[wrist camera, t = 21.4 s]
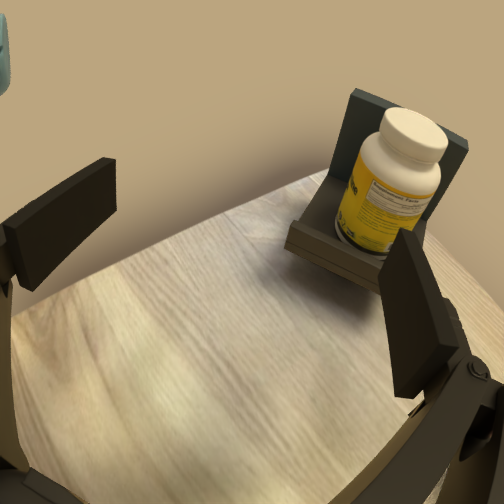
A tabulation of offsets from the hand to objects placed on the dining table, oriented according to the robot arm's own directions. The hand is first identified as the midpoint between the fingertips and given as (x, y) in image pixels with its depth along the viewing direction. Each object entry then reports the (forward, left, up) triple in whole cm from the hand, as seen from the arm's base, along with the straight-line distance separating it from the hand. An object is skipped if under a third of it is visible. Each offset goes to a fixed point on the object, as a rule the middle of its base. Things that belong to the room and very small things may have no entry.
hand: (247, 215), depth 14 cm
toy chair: (+6, +13, -15) cm, 21 cm away
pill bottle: (+6, +12, -10) cm, 16 cm away
